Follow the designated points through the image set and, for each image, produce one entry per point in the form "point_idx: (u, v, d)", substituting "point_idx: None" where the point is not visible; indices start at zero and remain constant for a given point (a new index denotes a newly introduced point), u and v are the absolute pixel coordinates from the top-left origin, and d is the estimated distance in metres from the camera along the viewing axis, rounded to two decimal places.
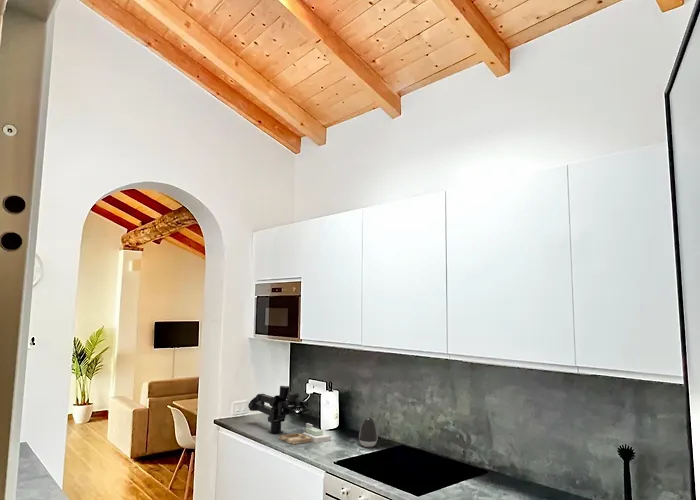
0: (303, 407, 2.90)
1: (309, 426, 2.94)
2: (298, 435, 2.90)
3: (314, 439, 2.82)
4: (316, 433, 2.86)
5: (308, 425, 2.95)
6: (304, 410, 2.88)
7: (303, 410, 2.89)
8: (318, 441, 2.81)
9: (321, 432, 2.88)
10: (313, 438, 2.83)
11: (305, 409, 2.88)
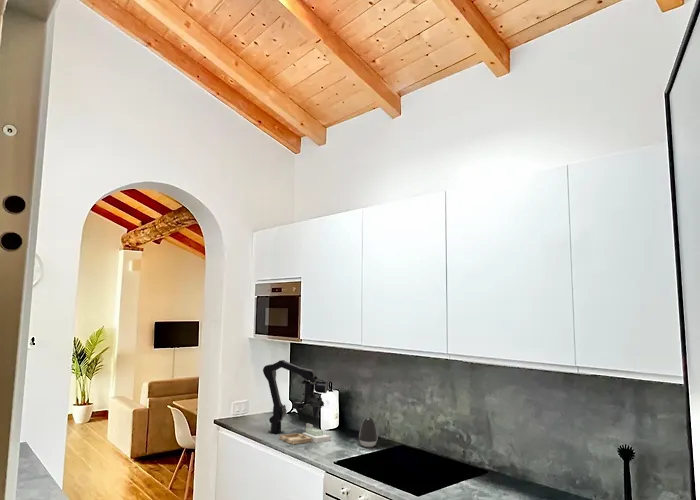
0: (315, 408, 3.00)
1: (309, 426, 2.94)
2: (298, 435, 2.90)
3: (314, 439, 2.82)
4: (316, 433, 2.86)
5: (308, 425, 2.94)
6: (313, 411, 3.01)
7: (313, 408, 3.01)
8: (318, 441, 2.81)
9: (321, 432, 2.88)
10: (313, 438, 2.83)
11: (314, 413, 3.00)
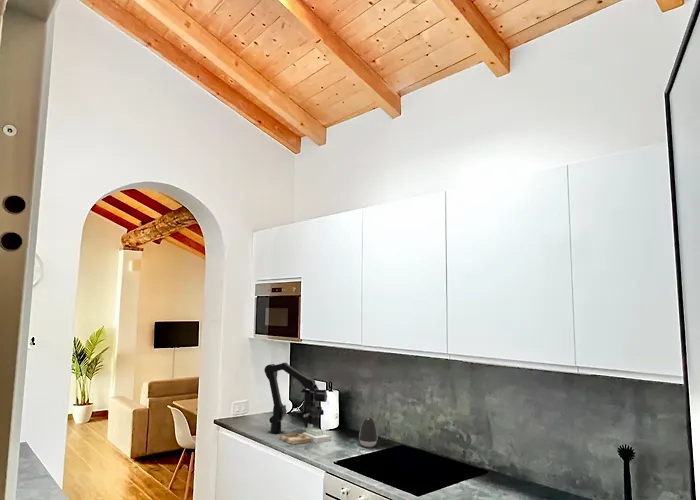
0: (309, 418, 2.97)
1: (309, 426, 2.93)
2: (298, 435, 2.90)
3: (314, 439, 2.82)
4: (316, 433, 2.86)
5: (308, 425, 2.94)
6: (308, 421, 2.98)
7: (308, 418, 2.98)
8: (318, 441, 2.81)
9: (321, 432, 2.88)
10: (313, 438, 2.83)
11: (308, 422, 2.97)
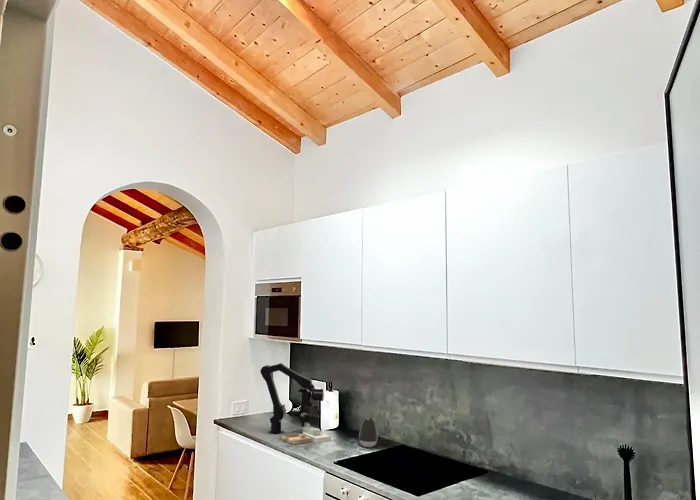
0: (306, 417, 2.99)
1: (306, 425, 2.96)
2: (298, 435, 2.90)
3: (314, 439, 2.82)
4: (313, 432, 2.88)
5: (305, 424, 2.96)
6: (305, 420, 3.00)
7: (305, 417, 3.01)
8: (318, 441, 2.81)
9: (318, 431, 2.90)
10: (313, 438, 2.83)
11: (305, 421, 2.99)
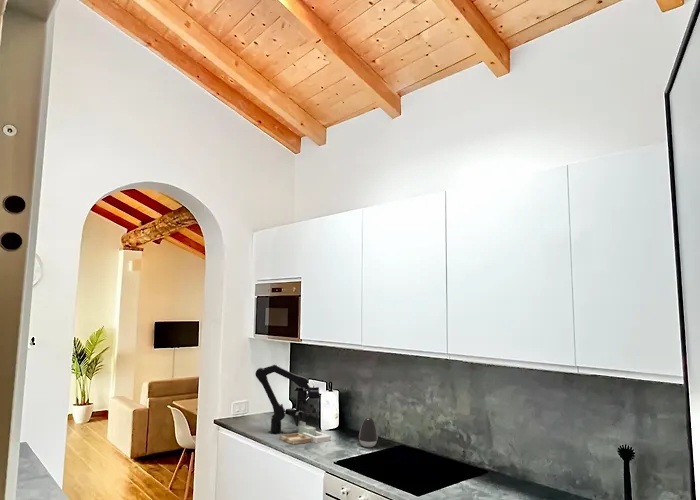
0: (304, 415, 3.04)
1: (302, 424, 2.99)
2: (298, 435, 2.90)
3: (314, 439, 2.82)
4: (309, 430, 2.91)
5: (301, 423, 3.00)
6: (302, 418, 3.04)
7: (303, 415, 3.05)
8: (318, 441, 2.81)
9: (314, 429, 2.93)
10: (313, 438, 2.83)
11: (303, 419, 3.04)
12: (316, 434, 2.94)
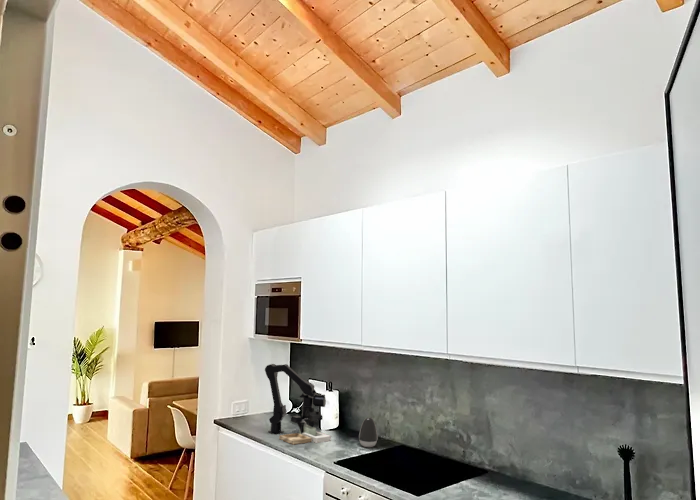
0: (311, 422, 2.99)
1: None
2: (298, 435, 2.90)
3: (314, 439, 2.82)
4: (309, 430, 2.91)
5: None
6: (309, 425, 2.99)
7: (309, 422, 3.00)
8: (318, 441, 2.81)
9: (314, 429, 2.93)
10: (313, 438, 2.83)
11: None
12: (316, 434, 2.94)
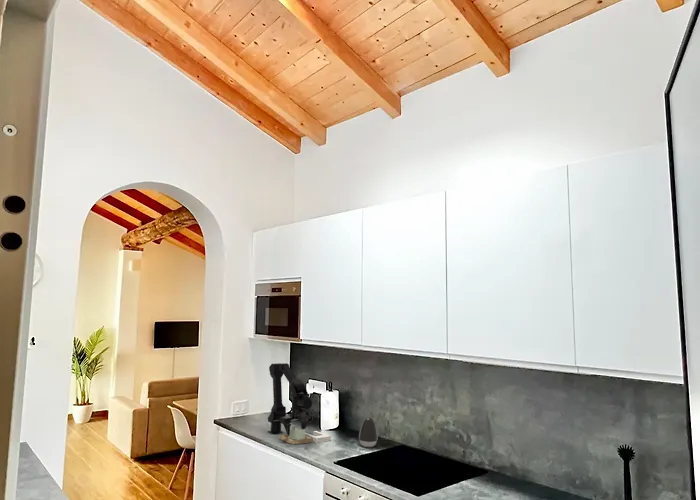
0: (303, 423, 2.87)
1: (291, 427, 2.87)
2: None
3: (314, 439, 2.82)
4: (298, 431, 2.79)
5: (290, 426, 2.87)
6: (302, 426, 2.88)
7: (302, 423, 2.88)
8: (318, 441, 2.81)
9: (303, 430, 2.81)
10: (313, 438, 2.83)
11: (302, 428, 2.87)
12: (316, 434, 2.94)
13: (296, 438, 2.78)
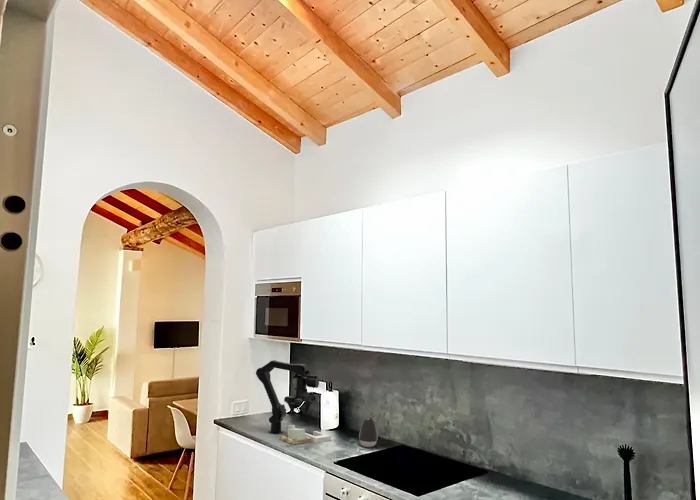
0: (307, 403, 3.00)
1: (291, 427, 2.87)
2: None
3: (314, 439, 2.82)
4: (298, 431, 2.79)
5: (290, 426, 2.87)
6: (305, 406, 3.01)
7: (305, 403, 3.01)
8: (318, 441, 2.81)
9: (303, 430, 2.81)
10: (313, 438, 2.83)
11: (306, 407, 3.00)
12: (316, 434, 2.94)
13: (296, 438, 2.78)
